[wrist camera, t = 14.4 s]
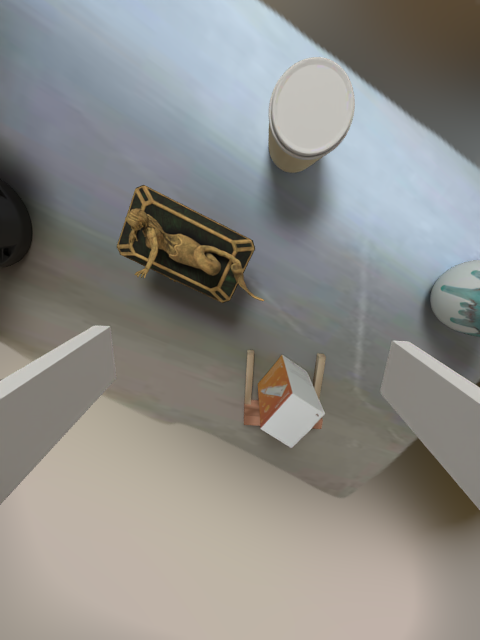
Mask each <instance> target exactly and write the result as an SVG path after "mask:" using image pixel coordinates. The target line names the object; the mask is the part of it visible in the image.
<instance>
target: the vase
mask: <svg viewBox="0 0 480 640" xmlns="http://www.w3.org/2000/svg"><path fill="white" fill-rule="evenodd" d="M430 303H431V307H432V310H433V312H434V314H435V316H436V317H437V318H438V319H439V320H440V321H441V322H442V323H443V324H444V325H446V326H447V327H449V328H451V329H453V330H455V331H458V332H461V333H464V334H468V335H473V336H477V337H480V260H473V261H467V262H464V263H461V264H458V265H456V266H454V267H452V268H450V269H449V270H447V271H446V272H444V273H443V274H442V275H441V276H440V277H439V278H438V280H437V281H436V282H435V284H434V286H433V288H432V291H431V296H430Z"/></svg>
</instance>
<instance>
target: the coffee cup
mask: <svg viewBox="0 0 480 640" xmlns="http://www.w3.org/2000/svg"><path fill="white" fill-rule="evenodd" d="M354 108H355V99H354V92H353V87H352V84H351V82H350V79H349V77H348V76H347V74H346V72H345V71H344V70H343V69H342V68H341V67H340V66H339V65H338V64H337V63H335V62H333V61H332V60H329V59H326V58H321V57H313V58H308V59H304V60H302V61H299V62H297V63H295V64H294V65H293V66H291V67H290V68H289V69H288V70H286V72H285V73H284V74H283V75H282V76H281V78H280V79H279V80H278V82H277V84H276V86H275V88H274V90H273V93H272V96H271V99H270V104H269V153H270V156H271V158H272V160H273V162H274V163H275V165H276V166H277V167H278V168H280V169H281V170H283V171H285V172H289V173H297V172H300V171H303V170H305V169H306V168H308V167H309V166H311V165H312V164H314V163H315V162H316V161H318V160H319V159H320V158H322V157H323V156H325V155H327V154H328V153H330V152H331V151H333V150H334V149H335V148H336V147H337V146H338V145H339V144H340V143H341V142H342V140H343V139H344V138H345V136H346V134H347V132H348V130H349V128H350V126H351V123H352V120H353V116H354Z"/></svg>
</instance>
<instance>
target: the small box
mask: <svg viewBox="0 0 480 640" xmlns="http://www.w3.org/2000/svg"><path fill="white" fill-rule="evenodd" d="M258 396H259V413H260V429H261V430H263V431H265V432H266V433H268V434H270V435H271V436H273V437H274V438H276V439H278V440H279V441H281V442H282V443H284V444H285V445H287V446H288V447H290V448H292V447H293V446H294V445H295V444H296V443H297V442H298V441H299V440H300V439H301V438H302V437H303V436H305V435H306V434H307V433H308V432H309V431H310V430H311V429H312V427H313V426H314V425H315V424H316V423H317V422H318V421H319V420H320V419H321V418H322V417H323V416H324V415H325V412H324V410H323V408H322V405H321V403H320V401H319V399H318V396H317V394H316V391H315V389H314V387H313V384H312V382H311V380H310V378H309V375H308V373H307V371H306V370H304V369H303V368H301V367H300V366H298V365H297V364H295V363H294V362H292V361H291V360H289V359H288V358H286V357H285V356H283V355H281V356H280V358H279V359H278V360H277V362H276V363H275V364H274V365H273V367H272V368H271V369H270V370H269V371H268V373H267V374H266V375H265V376H264V377H263V378H262V380H261V381H260V382H259V383H258Z"/></svg>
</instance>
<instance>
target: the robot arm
mask: <svg viewBox="0 0 480 640" xmlns="http://www.w3.org/2000/svg"><path fill="white" fill-rule="evenodd" d="M31 237H32V228H31V221H30V218H29V214H28V212H27V209H26V207H25V205H24V204H23V202H22V200H21V199H20V197H19V196H18V195H17V193H16V192H15V191H14V190H13V189H12V188H11V187H10V186H9V185H8V184H6V183H5V182H4V181H2V180H1V179H0V267H5V266H9V265H12V264H14V263H16V262H18V261H19V260H20V259H22V258H23V256H24V255H25V254H26V252H27V251H28V249H29V246H30V243H31ZM115 379H116V371H115V362H114V353H113V344H112V335H111V326H93V327H91V328H89V329H88V330H86V331H84V332H82V333H81V334H79V335H77V336H76V337H74V338H72V339H71V340H69V341H67V342H65V343H64V344H62V345H60V346H59V347H57V348H55V349H53V350H52V351H50V352H48V353H47V354H45V355H43V356H41V357H40V358H38V359H36V360H35V361H33V362H31V363H30V364H28V365H26V366H24V367H23V368H21V369H19V370H18V371H16V372H14V373H12V374H11V375H9V376H7V377H6V378H4V379H2V380H0V505H1V503H2V502H3V501H4V500H5V499H6V498H7V497H8V496H9V495H10V493H11V492H12V491H13V490H14V489H15V488H16V487H17V486H18V485H19V484H20V483H21V482H22V481H23V479H24V478H25V477H26V476H27V475H28V474H29V473H30V472H31V471H32V470H33V469H34V467H35V466H36V465H37V464H38V463H39V462H40V461H41V460H42V459H43V458H44V456H46V454H47V453H48V452H49V451H50V450H51V449H52V448H53V447H54V446H55V444H57V442H58V441H59V440H60V439H61V438H62V437H63V436H64V435H65V433H67V432H68V430H69V429H70V428H71V427H72V426H73V425H74V424H75V423H76V422H77V421H78V420H79V418H80V417H81V416H82V415H83V414H84V413H85V412H86V411H87V410H88V409H89V408H90V407H91V405H92V404H93V403H94V402H95V401H96V400H97V399H98V398H99V397H100V396H101V395H102V393H103V392H104V391H105V390H106V389H107V388H108V387H109V386H110V385H111V384H112V383H113V382H114V380H115ZM380 393H381V394H382V395H383V397H384V398H385V399H386V400H387V401H388V403H389V404H390V405H391V406H392V407H393V408H394V410H395V411H396V412H397V413H398V414H399V415H400V417H401V418H402V419H403V420H404V421H405V423H406V424H407V425H408V426H409V427H410V428H411V430H412V431H413V432H414V433H415V434H416V435H417V437H418V438H419V439H420V440H421V441H422V442H423V444H424V445H425V446H426V447H427V448H428V450H429V451H430V452H431V453H432V454H433V455H434V457H435V458H436V459H437V460H438V461H439V463H440V464H441V465H442V466H443V467H444V468H445V470H446V471H447V472H448V473H449V474H450V475H451V476H452V478H453V479H454V480H455V481H456V482H457V484H458V485H459V486H460V487H461V488H462V490H463V491H464V492H465V493H466V494H467V495H468V497H469V498H470V499H471V500H472V501H473V503H474V504H475V505H476V506H477V507H478V508H479V510H480V388H479V387H478V386H476V385H475V384H473V383H472V382H470V381H469V380H467V379H465V378H464V377H462V376H461V375H459V374H458V373H456V372H455V371H453V370H452V369H450V368H449V367H447V366H446V365H444V364H442V363H441V362H439V361H438V360H436V359H435V358H433V357H432V356H430V355H429V354H427V353H426V352H424V351H423V350H421V349H419V348H418V347H416V346H415V345H413V344H412V343H410V342H408V341H392V343H391V348H390V352H389V356H388V360H387V365H386V369H385V373H384V377H383V381H382V386H381V390H380Z"/></svg>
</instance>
